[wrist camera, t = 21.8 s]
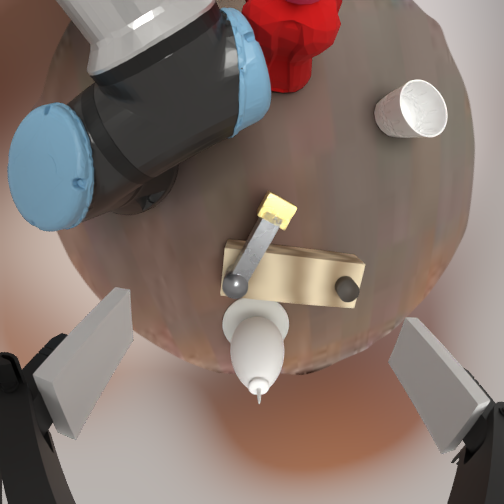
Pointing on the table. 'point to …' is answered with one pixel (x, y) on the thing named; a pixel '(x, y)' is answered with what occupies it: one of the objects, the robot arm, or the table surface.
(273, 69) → the red lumpy piece
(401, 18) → the table surface
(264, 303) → the white round disc
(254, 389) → the sauce bottle
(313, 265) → the beige long block
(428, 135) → the white cup
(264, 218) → the lever
